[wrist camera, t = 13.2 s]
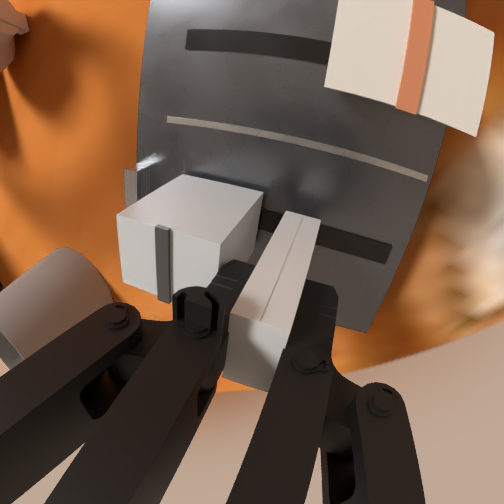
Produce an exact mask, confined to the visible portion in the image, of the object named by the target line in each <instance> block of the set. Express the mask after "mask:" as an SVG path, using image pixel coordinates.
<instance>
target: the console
mask: <svg viewBox="0 0 504 504" xmlns="http://www.w3.org/2000/svg"><path fill="white" fill-rule="evenodd" d="M432 1H434V5H435V6H438V7H440V8H443V9H445V10H448V11H450V12H452V13H455V14H457V15H459V16H462V17H464V18H465V11H466V0H432ZM337 7H338V0H151V2H150V7H149V14H148V20H147V27H146V34H145V42H144V50H143V59H142V69H141V80H140V93H139V108H138V129H137V164H135V165H132V166H130V167H128V168H126V169H124V179H125V208H128V207H129V206H131V205H132V204H134V203H135V202H137V201H139V200H140V199H142V198H143V197H145V196H147V195H148V194H150V193H152V192H153V191H155V190H157V189H158V188H160V187H162V186H163V185H165V184H167V183H168V182H170V181H172V180H173V179H175V178H177V177H179V176H180V175H182V174H184V175H189V176H194V177H199V178H203V179H208V180H213V181H217V182H222V183H226V184H231V185H235V186H240V187H244V188H248V189H252V190H257V191H261V192H264V193H263V199H262V205H261V211H260V217H259V223H258V229H257V235H256V241H255V247H254V251H253V252H252V254H251V256H250V257H249V259H248V261H247V262H246V263H249V264H252V265H257V263H258V261H259V259H260V258H261V256H262V254H263V252H264V250H265V248H266V247H267V245H268V243H269V241H270V239H271V237H272V236H273V234H274V232H275V230H276V228H277V226H278V225H279V223H280V221H281V219H282V217H283V215H284V214H285V212H286V211H290V212H293V213H297V214H301V215H305V216H308V217H312V218H316V219H319V220H321V222H320V226H319V230H318V234H317V238H316V242H315V246H314V250H313V253H312V257H311V261H310V265H309V268H308V272H307V276H306V279H309V280H312V281H316V282H319V283H323V284H326V285H330V286H333V287H334V288H335V290H336V293H337V295H338V297H339V299H338V308H337V316H336V323H335V325H337V326H341V327H344V328H348V329H352V330H356V331H359V332H363V333H367V331H368V329H369V327H370V325H371V323H372V322H373V320H374V318H375V316H376V314H377V312H378V310H379V307H380V305H381V303H382V301H383V299H384V297H385V295H386V293H387V291H388V289H389V286H390V284H391V282H392V280H393V278H394V275H395V273H396V271H397V269H398V266H399V264H400V262H401V259H402V257H403V254H404V252H405V250H406V247H407V245H408V242H409V240H410V237H411V235H412V232H413V230H414V227H415V224H416V222H417V219H418V216H419V214H420V211H421V208H422V205H423V202H424V199H425V197H426V194H427V191H428V188H429V185H430V181H431V178H432V175H433V172H434V169H435V165H436V162H437V159H438V155H439V152H440V148H441V145H442V141H443V137H444V133H445V130H446V126H448V125H445V124H442V123H440V122H437V121H434V120H432V119H429V118H426V117H423V116H421V115H418V114H416V115H415V114H412V113H409V112H406V111H403V110H400V109H397V108H395V107H394V106H391V105H388V104H385V103H381V102H378V101H375V100H371V99H368V98H364V97H360V96H357V95H353V94H349V93H345V92H341V91H337V90H333V89H330V88H327V87H324V84H325V79H326V73H327V67H328V62H329V56H330V50H331V44H332V38H333V32H334V26H335V20H336V13H337ZM449 127H450V126H449ZM452 128H453V127H452Z"/></svg>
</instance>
